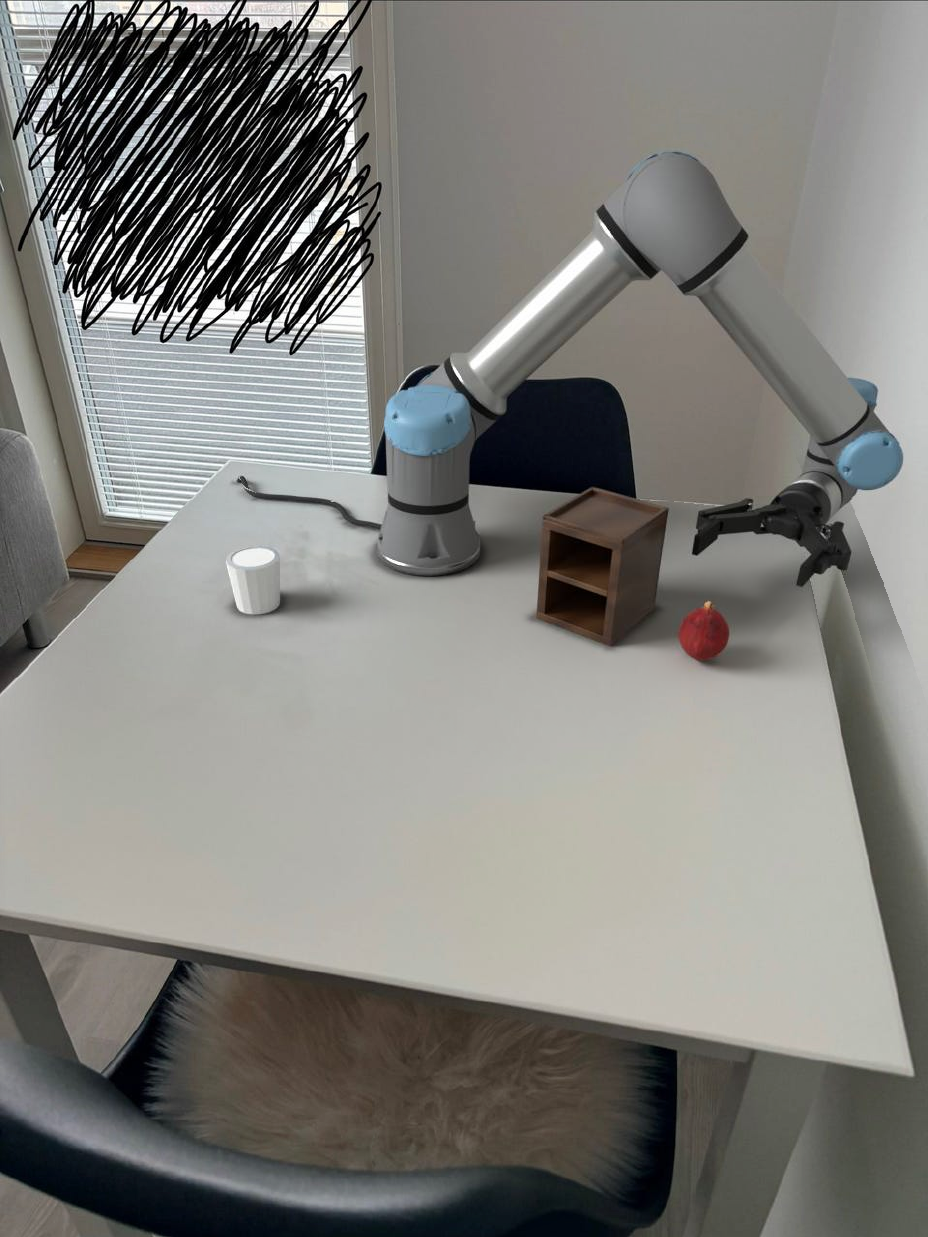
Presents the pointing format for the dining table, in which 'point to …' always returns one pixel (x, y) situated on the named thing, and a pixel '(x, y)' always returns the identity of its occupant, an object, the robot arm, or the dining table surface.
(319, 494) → the dining table surface
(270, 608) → the shot glass
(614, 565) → the box
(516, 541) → the dining table surface
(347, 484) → the dining table surface
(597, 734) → the dining table surface
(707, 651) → the onion
